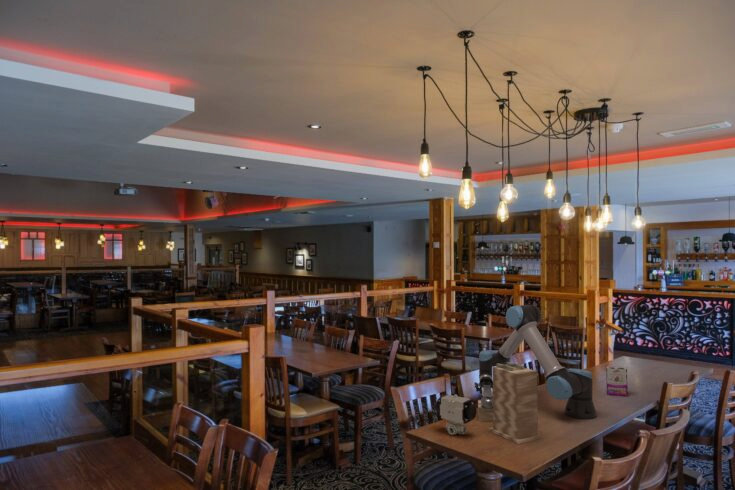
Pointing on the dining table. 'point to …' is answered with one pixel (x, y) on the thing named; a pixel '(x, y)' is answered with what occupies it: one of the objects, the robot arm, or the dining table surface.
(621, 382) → the candy bar box
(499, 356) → the robot arm
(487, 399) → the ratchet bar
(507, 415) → the oak stand
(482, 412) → the beech block
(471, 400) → the ball valve
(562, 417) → the dining table surface
